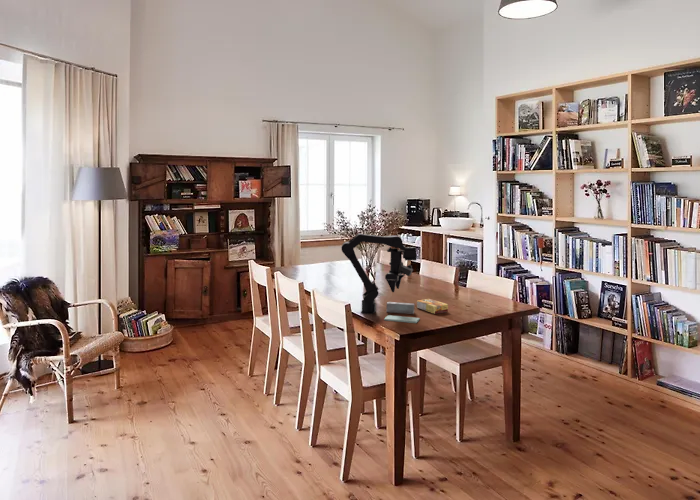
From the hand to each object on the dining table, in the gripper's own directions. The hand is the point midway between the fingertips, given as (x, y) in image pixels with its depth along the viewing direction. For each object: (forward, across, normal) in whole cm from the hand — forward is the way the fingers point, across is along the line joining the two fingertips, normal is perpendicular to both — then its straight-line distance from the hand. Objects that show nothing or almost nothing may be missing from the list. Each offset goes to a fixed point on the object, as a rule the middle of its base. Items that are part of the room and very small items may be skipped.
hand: (395, 290), depth 278 cm
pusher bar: (+12, 0, -3) cm, 12 cm away
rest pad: (+11, -14, -7) cm, 19 cm away
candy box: (+9, +6, -23) cm, 26 cm away
